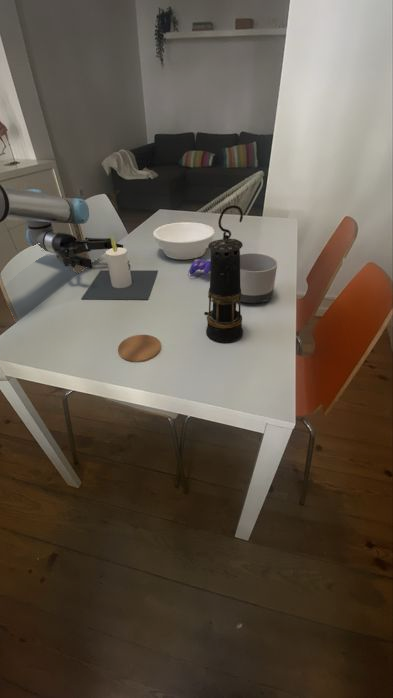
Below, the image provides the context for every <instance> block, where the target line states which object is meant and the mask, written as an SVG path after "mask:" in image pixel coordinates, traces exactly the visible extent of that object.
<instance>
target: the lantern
mask: <svg viewBox="0 0 393 698" xmlns="http://www.w3.org/2000/svg"><path fill="white" fill-rule="evenodd" d="M231 209H236V210H238V212H239V214H240V216H239V223H242V221H243V219H244V214H243V213H244V212H243V210H242V209H241V207H240V206H238V205H233V204H232V205H229V206H226V207H225V208H224V209H223V210H222V211H221V213H220V215H219V218H218V227H219V229H220V230H221V231H222V232H223V233H222V238H221V239H215V240H212V242H211V243H210V244H209V246H208V247H207V248H208V249H209V250H210V259H211V266H210V272H209V288H208V291H207V298H208V311H205V312H204V313H203V315H204V316H206V321H207V327H206V330H205V334H206V336H207V338H208V339H209V340H210V341H212V342H214V343H218V344H233V343H236V342H238V341H239V340H241V339H242V338H243V335H244V329H243V327H242V326H243V325H242V323H243V316H242V314H241V301H240V299H241V288H240V254H241V251H240V250H241V249H242V248H243V242H242V240H239V239H236V238H231V237H232V232H231V230H229V229H227V228H223V226H222V219H223V217H224V214H225V213H226V212H227V211H228V210H231ZM237 302H238V310H237ZM211 307H212V309H211Z"/></svg>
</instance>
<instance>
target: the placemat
mask: <svg viewBox="0 0 393 698" xmlns="http://www.w3.org/2000/svg"><path fill="white" fill-rule="evenodd" d="M158 272H159V270H150V269H149V270H144V269H143V270H141V269H139V270H136V269H135V270H131V269H130V274H131V280H132V284H131V285H130V286H128V287H125V288H115V287H113V286H112V283H111V278H110V273H109V269H107V270H106V269H105V270H104V269H102V270H100V271H98V273H97V275H96V276H95V277H94V279H93V280H92V282H91V283H90V285H89V286H88V288H87V289H86V291H85V292H84V294H83V295H82V296H81V298H80V300H82V301H86V300H88V301H90V300H91V301H94V300H95V301H149V299H150V295H151V293H152V290H153V287H154V284H155V281H156V279H157V275H158Z"/></svg>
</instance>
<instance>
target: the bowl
mask: <svg viewBox="0 0 393 698" xmlns="http://www.w3.org/2000/svg"><path fill="white" fill-rule="evenodd" d="M152 233H153V234H152V235H153V237H154V240H155V241H156V244H157V246H158V247H159V248H160V249H161V250H163V253H164V255H165V256H167V257H168V258H170V259H175V260H192V259H198V258H200V257H202V256H203V255H204V254H205V253H206V250H207V248H209V247H208V246H209V244H210V243H211V242H213V240H214V237H215V236H214V235H215V233H216V230H215V228H213V227H212V226H210V225H208V224H205V223H200V222H191V221H190V222H189V221H181V222H172V223H167V224H164V225H160V226H159V227H156V228H155V229H154V231H153V232H152Z"/></svg>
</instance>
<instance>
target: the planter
mask: <svg viewBox="0 0 393 698" xmlns="http://www.w3.org/2000/svg"><path fill="white" fill-rule="evenodd" d="M277 269H278V261H277V260H276V258H274V257H272V256H270V255H267V254H263V253H257V252H256V253H255V252H250V253H249V252H248V253H247V252H246V253H240V288H241V299H240V302H242V303H247V304H258V303H263V302H267V301H268V300H270V299H271V298H272V297H273V295H274V290H275V282H276V278H277Z"/></svg>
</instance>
